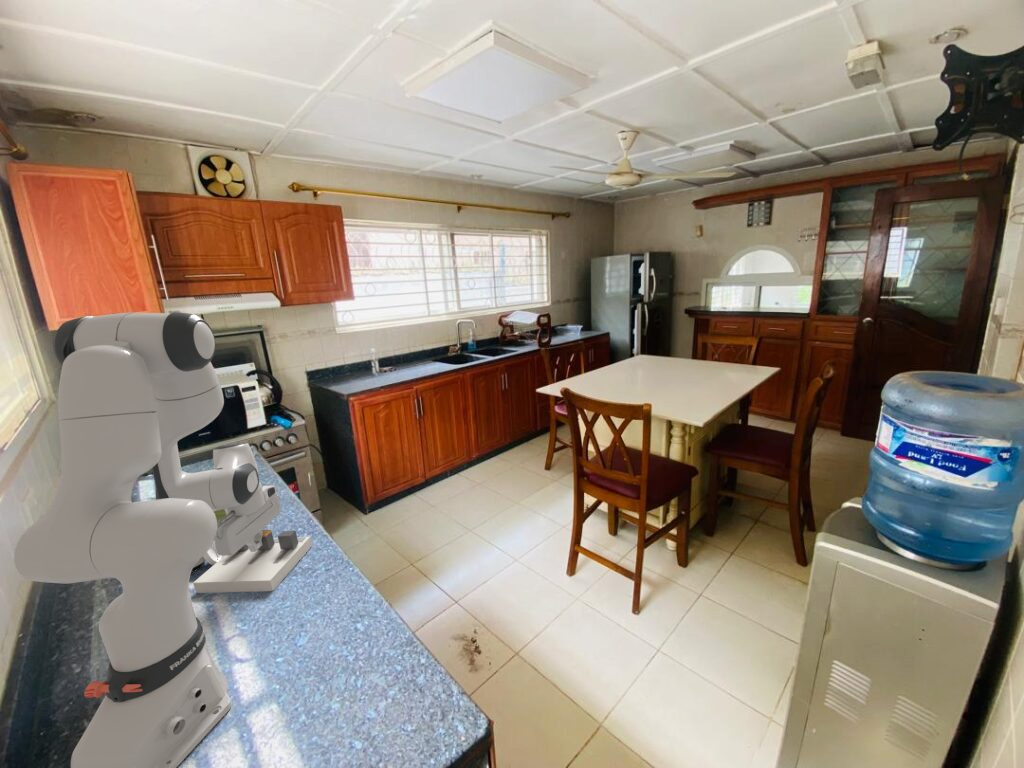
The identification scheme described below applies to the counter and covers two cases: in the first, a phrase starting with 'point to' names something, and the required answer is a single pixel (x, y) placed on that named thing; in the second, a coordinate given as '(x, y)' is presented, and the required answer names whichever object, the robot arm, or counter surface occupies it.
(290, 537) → the block
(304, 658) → the counter surface
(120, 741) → the robot arm
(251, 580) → the box
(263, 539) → the breaker
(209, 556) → the spread jar
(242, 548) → the left breaker
